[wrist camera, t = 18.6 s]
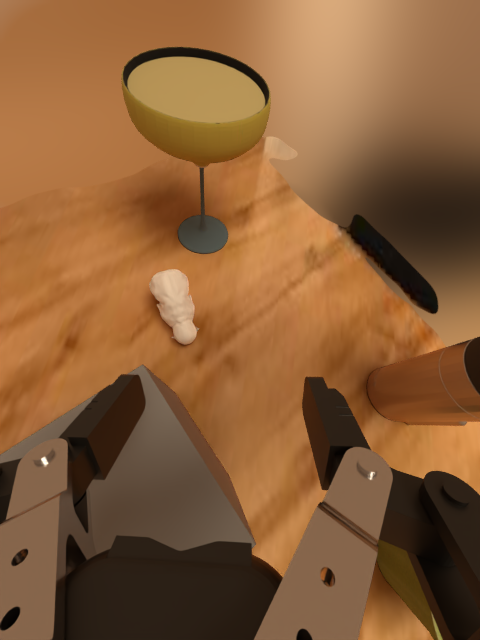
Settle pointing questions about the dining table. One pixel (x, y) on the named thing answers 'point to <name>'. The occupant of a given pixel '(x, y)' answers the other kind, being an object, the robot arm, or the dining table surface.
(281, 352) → the dining table surface
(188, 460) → the shelf
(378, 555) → the plant pot
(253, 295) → the dining table surface
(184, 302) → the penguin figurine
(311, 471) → the dining table surface
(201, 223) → the cocktail glass
